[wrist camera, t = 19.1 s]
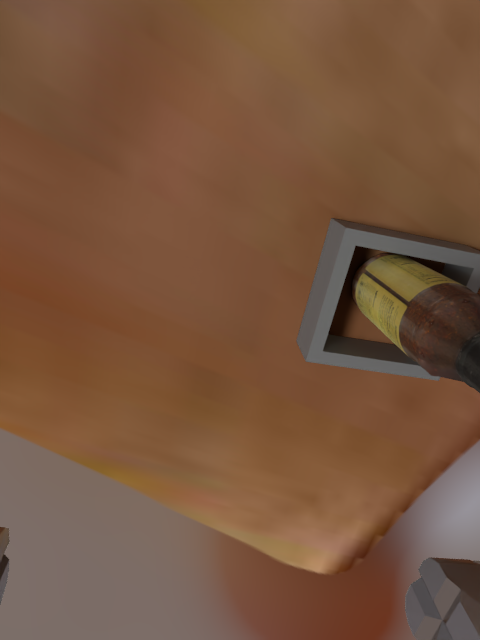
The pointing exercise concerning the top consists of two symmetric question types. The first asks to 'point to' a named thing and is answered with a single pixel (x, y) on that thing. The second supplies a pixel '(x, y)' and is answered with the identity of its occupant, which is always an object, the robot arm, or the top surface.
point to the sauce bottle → (422, 315)
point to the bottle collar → (328, 284)
